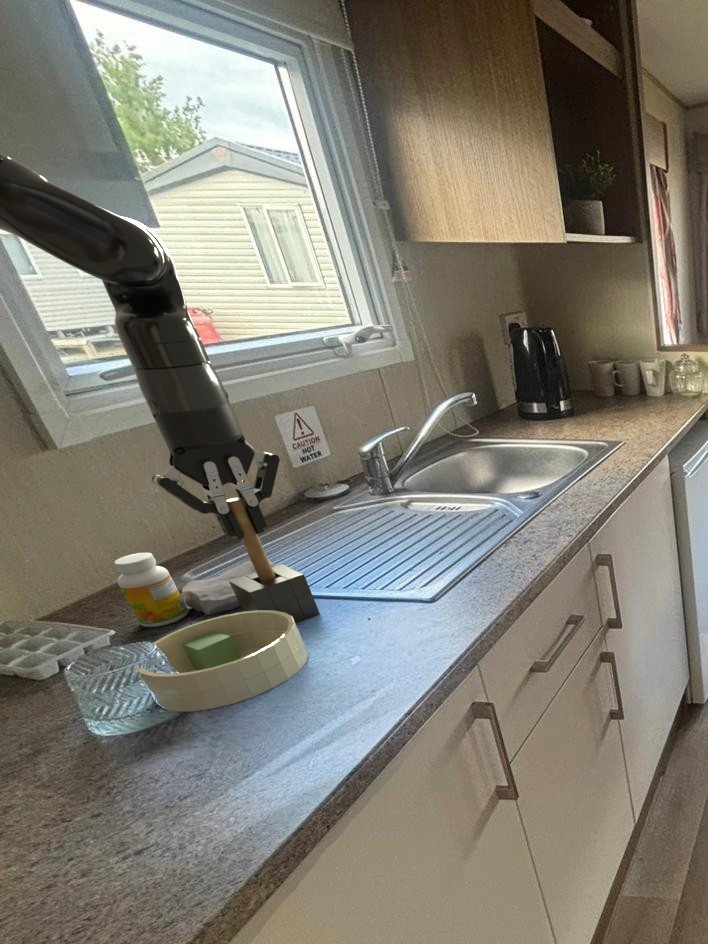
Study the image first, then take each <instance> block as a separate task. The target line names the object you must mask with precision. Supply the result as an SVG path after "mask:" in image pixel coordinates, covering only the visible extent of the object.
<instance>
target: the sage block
mask: <svg viewBox="0 0 708 944" xmlns="http://www.w3.org/2000/svg"><path fill="white" fill-rule="evenodd" d="M182 646H183V648H184V650H185V652H186V654H187V656H188V657H189V659H190V661H191V663H192V665H193V667H194V668H195V669H197V670H203V669H208V668H213V667H216V666H219V665H223V664H226V663H229V662H232V661H235V660H238V659H240V658H241V657H240V654H239V652H238V650H237V648H236V646H235V644H234V642H233V640H232V638H231V636H228V635H225V634H222V633H218V632H215V631H213V632H210V633H208V634H205V635H203V636H201V637H198V638H196V639H194V640H191V641H189V642H186V643H184V644H182Z"/></svg>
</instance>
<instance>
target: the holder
mask: <svg viewBox="0 0 708 944" xmlns="http://www.w3.org/2000/svg"><path fill="white" fill-rule="evenodd" d="M272 569H273V572H274V574H275V576H276V578H275V579H272V580H269V581H266V582H263V583H261V582H260V580H259V577H258V575H257V573H253V574H250V575H247V576H244V577H241V578H238V579H234V580H231V581H229V583H230V585H231V587H232V589H233V591H234V593H235V595H236V598H237V600H238V602H239V604H240V606H241V607H240V608H241V610H242V612H246V611H256V610H273V611H279V612H284V613H287V614H288V615H290V616H292V617H293V619H294V622H295V624H296V625H297V624H298V623H302V622H304V621H306V620H309V619H311V618H314V617H317V616H320V615H321V613H320V610H319V608H318V605H317V603H316V601H315V598H314V595H313V593H312V591H311V588H310V586H309V583H308V581H307V579H306V575H305V574H304V573H302V572H300V571H297V570H295V569H293V568H292V567H289V566H287V565H286V564H283V563H281V564H279V565H276V566H275V567H272Z"/></svg>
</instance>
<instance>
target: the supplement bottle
mask: <svg viewBox="0 0 708 944" xmlns="http://www.w3.org/2000/svg"><path fill="white" fill-rule="evenodd" d="M113 564H114V566H115V568H116V569H117V571H118V573H121V575H120V576H119V577H117V579H116V582H117V585H118V586H119V589H120V590H121V592H122V594H123V597H125V599H126V601H127V603H128V604H129V606H130V608H131V610H132V612H133V614H134V616H135V617H136V619H137V621H138V622H139V625H141V626H142V627H146V628H155V627H157V628H158V627H163V626H166V625H167V626H168V625H170V623H171V624H173V623H176V622H178V621H180V620H182V619H184V618H185V617H186V616H188V614H189V609H188V607H187V604H186V603H185V601H184V599H183V596H182V594H181V593H180V592H179V589H178V587H177V586H176V584H175V582H174V580H173V577H172V576H171V574H170V572H169V571H168V569H167V568H166V567H163V566H161V565H157V560H156V559H155V557H154V555H153V554H152V553H151V552H136V553H132V554H128V555H124V556H121V557H119V558H117V559H116V560H114V562H113Z"/></svg>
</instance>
